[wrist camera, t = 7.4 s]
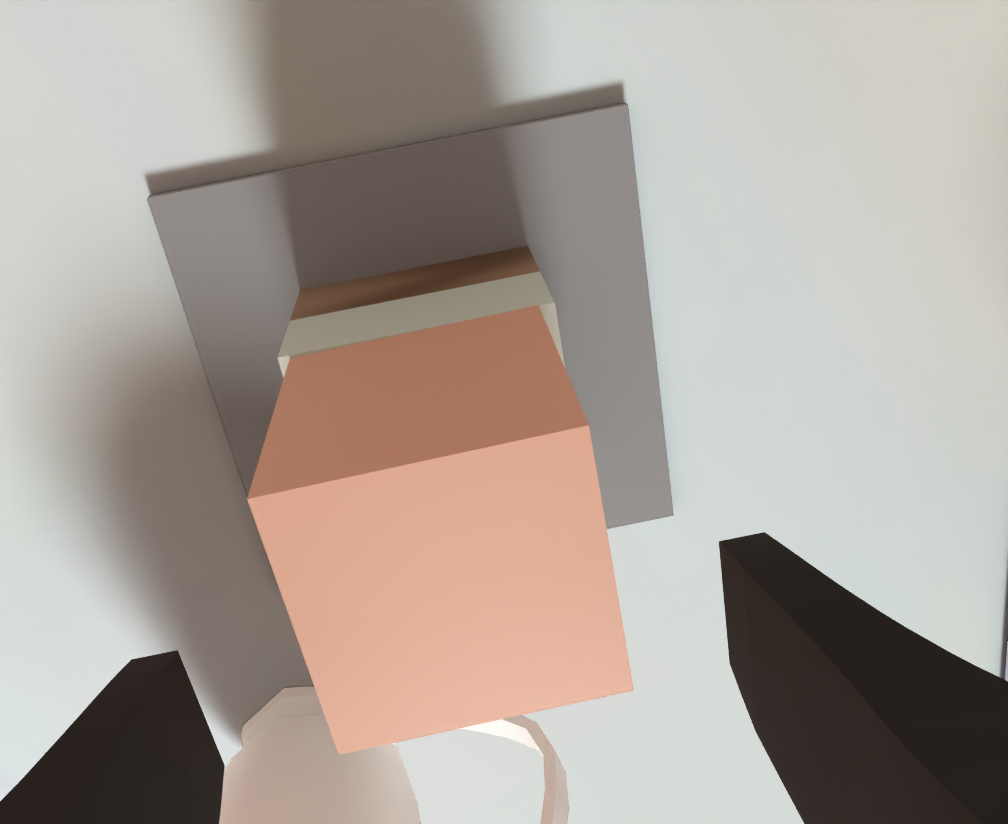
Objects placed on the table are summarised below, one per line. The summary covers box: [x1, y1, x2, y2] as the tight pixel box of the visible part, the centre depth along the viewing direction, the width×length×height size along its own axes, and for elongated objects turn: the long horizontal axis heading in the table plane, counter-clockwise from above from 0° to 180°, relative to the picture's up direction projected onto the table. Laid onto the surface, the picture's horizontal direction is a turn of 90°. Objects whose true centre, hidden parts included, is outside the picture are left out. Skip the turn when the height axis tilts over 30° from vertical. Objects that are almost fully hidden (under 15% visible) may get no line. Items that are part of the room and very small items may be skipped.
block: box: [247, 305, 634, 755], centre depth 15 cm, size 4×4×5 cm
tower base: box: [290, 246, 540, 321], centre depth 20 cm, size 5×5×2 cm
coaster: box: [147, 103, 674, 595], centre depth 21 cm, size 10×10×1 cm
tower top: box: [277, 272, 565, 378], centre depth 19 cm, size 5×5×2 cm
